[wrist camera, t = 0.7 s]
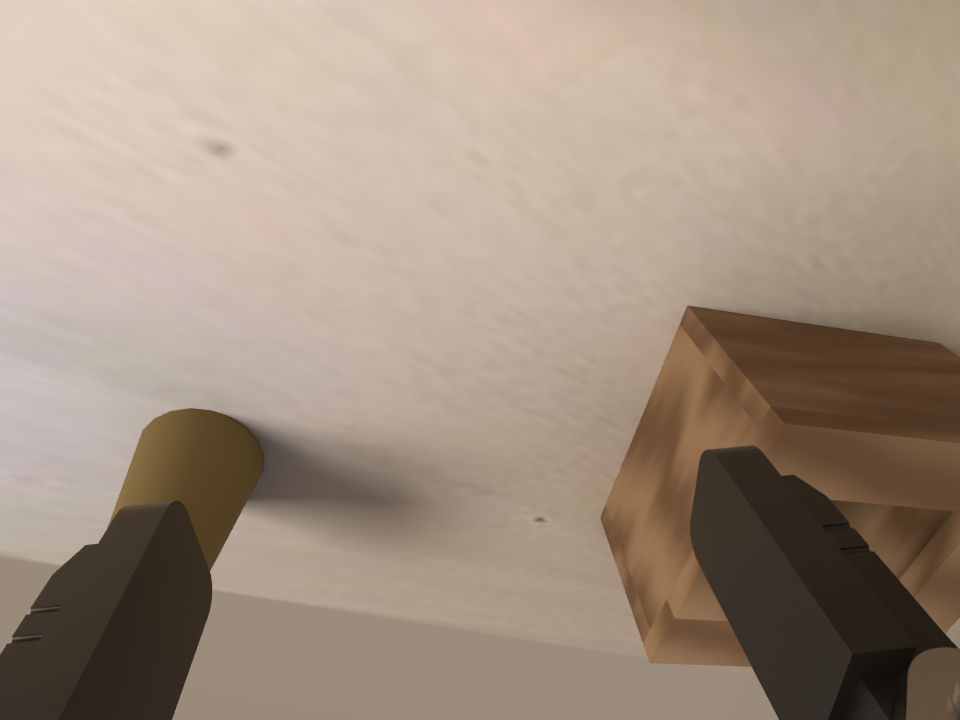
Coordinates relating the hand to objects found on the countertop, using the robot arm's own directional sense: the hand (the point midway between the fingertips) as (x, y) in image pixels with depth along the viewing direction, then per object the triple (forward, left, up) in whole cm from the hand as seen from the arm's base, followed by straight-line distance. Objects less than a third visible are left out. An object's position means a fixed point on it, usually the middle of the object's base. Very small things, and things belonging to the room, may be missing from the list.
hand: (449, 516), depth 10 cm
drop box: (+11, +20, -18) cm, 29 cm away
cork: (+16, -9, -18) cm, 26 cm away
